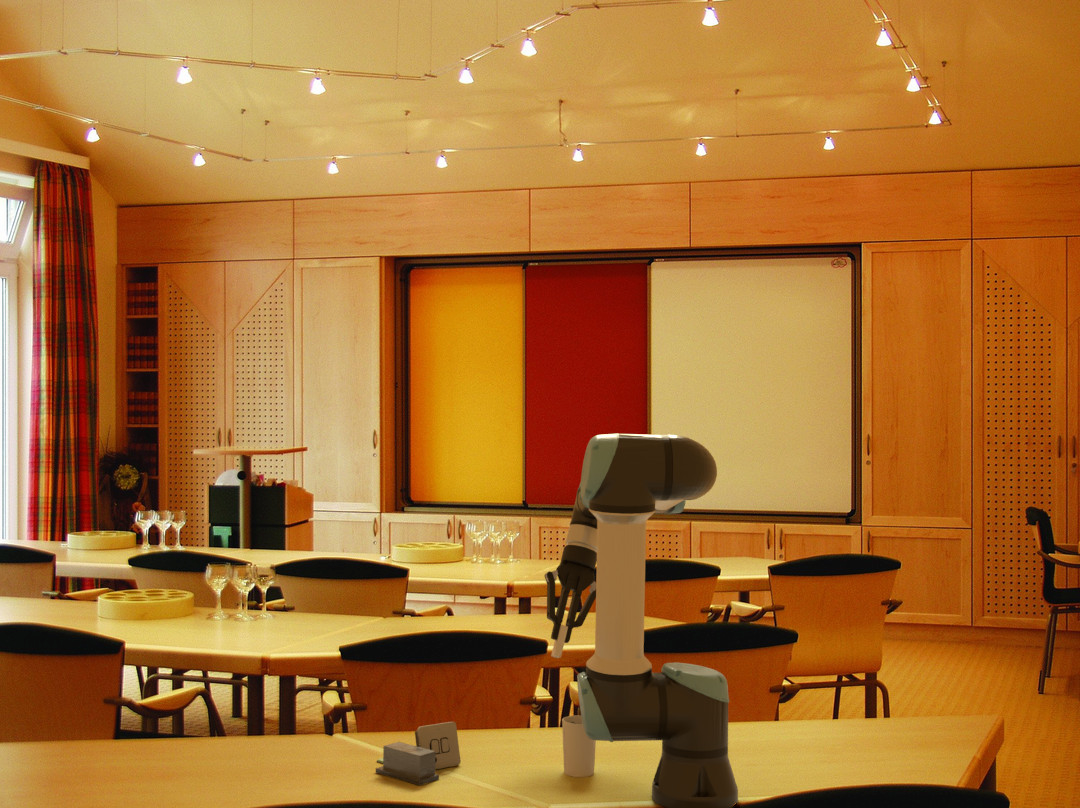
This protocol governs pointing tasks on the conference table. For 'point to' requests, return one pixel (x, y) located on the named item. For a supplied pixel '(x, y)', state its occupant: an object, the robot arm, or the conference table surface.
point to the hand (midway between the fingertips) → (555, 656)
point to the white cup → (577, 748)
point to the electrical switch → (440, 743)
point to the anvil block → (408, 763)
